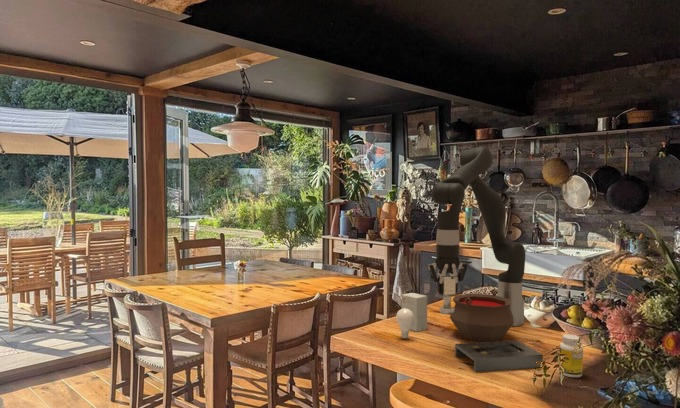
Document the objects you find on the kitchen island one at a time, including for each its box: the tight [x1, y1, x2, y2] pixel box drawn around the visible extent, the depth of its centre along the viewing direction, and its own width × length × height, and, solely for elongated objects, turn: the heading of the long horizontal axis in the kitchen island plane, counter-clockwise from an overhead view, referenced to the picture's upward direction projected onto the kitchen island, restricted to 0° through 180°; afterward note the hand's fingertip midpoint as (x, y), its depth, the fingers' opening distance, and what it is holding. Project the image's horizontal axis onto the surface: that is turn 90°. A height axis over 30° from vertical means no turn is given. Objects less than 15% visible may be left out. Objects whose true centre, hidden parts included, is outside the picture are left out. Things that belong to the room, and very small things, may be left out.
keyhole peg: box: [438, 276, 456, 315], centre depth 156 cm, size 5×5×12 cm
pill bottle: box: [558, 333, 584, 378], centre depth 137 cm, size 6×6×11 cm
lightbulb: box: [395, 308, 414, 340], centre depth 168 cm, size 6×6×11 cm
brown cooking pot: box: [449, 288, 514, 342], centre depth 172 cm, size 24×24×16 cm
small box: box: [401, 292, 428, 332], centre depth 182 cm, size 8×6×13 cm
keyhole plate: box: [454, 339, 544, 373], centre depth 146 cm, size 22×14×4 cm, turn 101°
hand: (447, 293), depth 156 cm, fingers closed on keyhole peg, 4 cm apart
